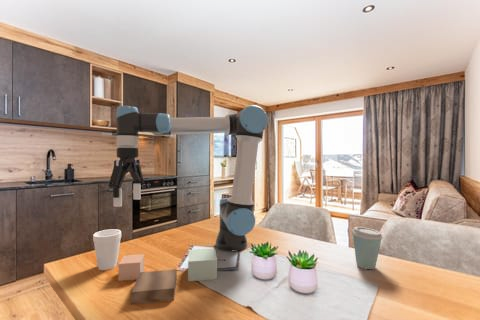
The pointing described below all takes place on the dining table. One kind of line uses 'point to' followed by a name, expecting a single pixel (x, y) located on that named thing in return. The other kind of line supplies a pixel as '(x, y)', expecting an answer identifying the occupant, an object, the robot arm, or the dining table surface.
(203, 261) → the sage brick
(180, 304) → the dining table surface
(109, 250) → the foam cup
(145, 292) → the walnut base
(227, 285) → the dining table surface
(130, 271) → the beige cube
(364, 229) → the disposable coffee cup
